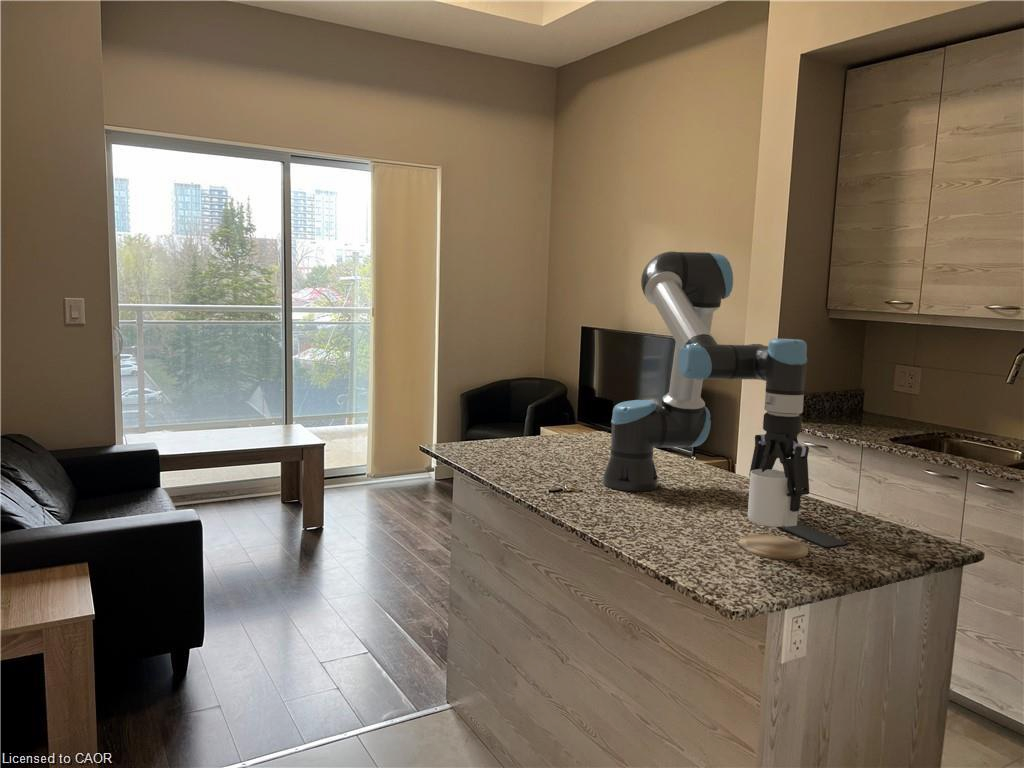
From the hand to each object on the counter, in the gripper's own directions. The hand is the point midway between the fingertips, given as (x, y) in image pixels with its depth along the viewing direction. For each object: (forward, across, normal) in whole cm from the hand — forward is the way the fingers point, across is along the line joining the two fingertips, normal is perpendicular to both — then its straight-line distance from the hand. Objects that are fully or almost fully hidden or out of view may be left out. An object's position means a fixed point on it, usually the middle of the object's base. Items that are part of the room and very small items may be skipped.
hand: (775, 519), depth 156 cm
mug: (+1, 0, 0) cm, 1 cm away
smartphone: (+7, -4, +14) cm, 16 cm away
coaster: (+6, 0, 0) cm, 6 cm away
